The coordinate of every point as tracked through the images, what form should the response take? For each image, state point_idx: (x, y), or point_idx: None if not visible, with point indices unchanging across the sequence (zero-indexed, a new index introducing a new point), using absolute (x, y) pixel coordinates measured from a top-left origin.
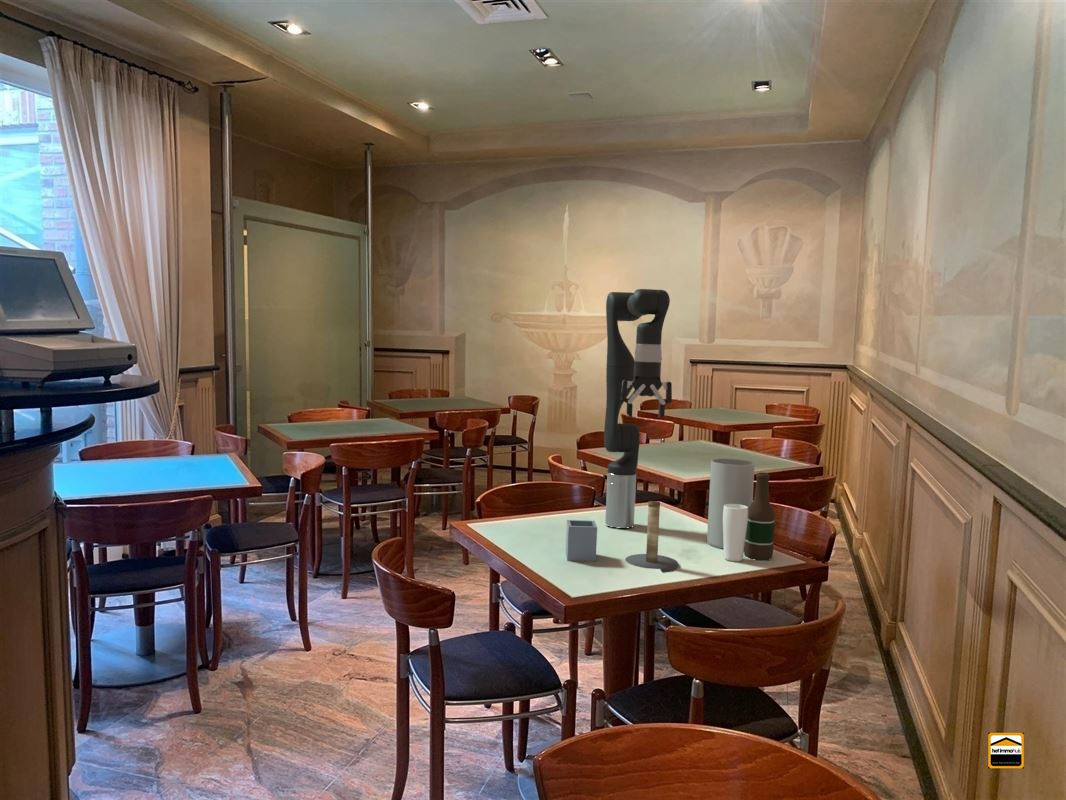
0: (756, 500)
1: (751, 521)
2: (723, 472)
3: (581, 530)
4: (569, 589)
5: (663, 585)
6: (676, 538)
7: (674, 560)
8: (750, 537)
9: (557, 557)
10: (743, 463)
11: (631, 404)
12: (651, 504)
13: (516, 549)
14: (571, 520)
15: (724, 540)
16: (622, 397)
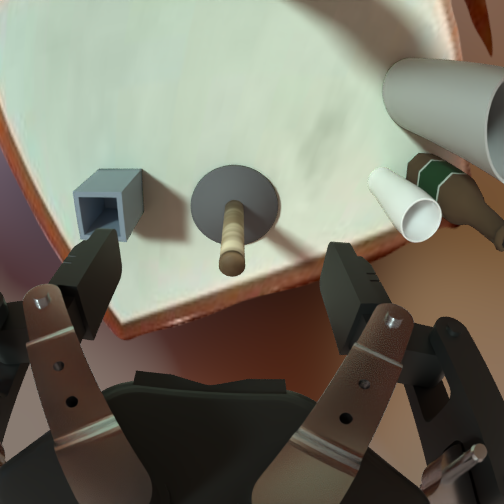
0: (465, 218)
1: None
2: (476, 157)
3: None
4: (116, 304)
5: (227, 293)
6: (336, 38)
7: (275, 203)
8: None
9: None
10: None
11: (85, 338)
12: (223, 272)
13: (33, 144)
14: (80, 195)
15: (376, 194)
16: (2, 369)
